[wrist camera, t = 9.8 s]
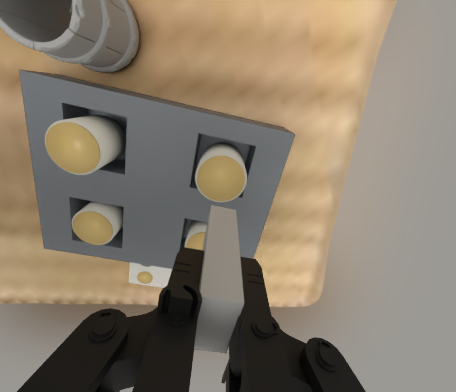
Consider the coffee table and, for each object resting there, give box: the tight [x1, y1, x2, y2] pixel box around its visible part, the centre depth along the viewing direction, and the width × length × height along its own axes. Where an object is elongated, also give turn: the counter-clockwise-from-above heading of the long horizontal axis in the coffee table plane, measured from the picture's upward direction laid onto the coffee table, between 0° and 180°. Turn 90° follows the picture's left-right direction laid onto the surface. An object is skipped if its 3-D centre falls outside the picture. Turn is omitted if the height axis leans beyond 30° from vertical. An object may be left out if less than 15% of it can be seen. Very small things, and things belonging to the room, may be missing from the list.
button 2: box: [45, 115, 126, 175], centre depth 22 cm, size 5×5×5 cm
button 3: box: [185, 220, 207, 250], centre depth 29 cm, size 5×5×5 cm
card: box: [129, 262, 172, 288], centre depth 36 cm, size 10×7×1 cm
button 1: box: [72, 201, 124, 245], centre depth 28 cm, size 5×5×5 cm
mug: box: [0, 0, 139, 73], centre depth 17 cm, size 8×12×12 cm, turn 80°
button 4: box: [195, 142, 247, 202], centre depth 23 cm, size 5×5×5 cm
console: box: [19, 70, 295, 269], centre depth 28 cm, size 26×20×5 cm
